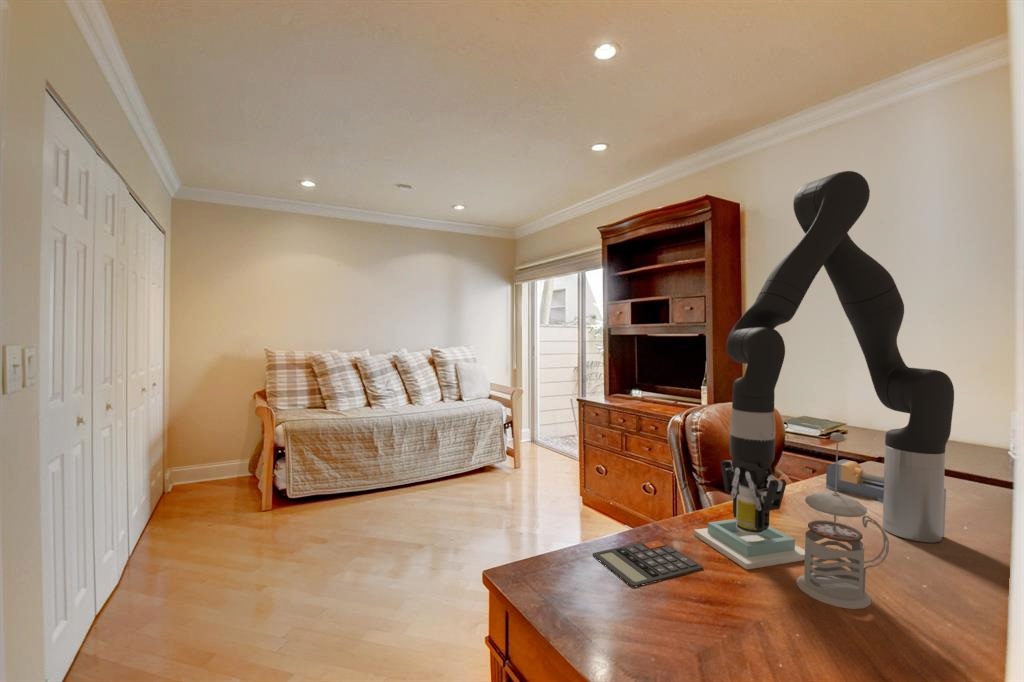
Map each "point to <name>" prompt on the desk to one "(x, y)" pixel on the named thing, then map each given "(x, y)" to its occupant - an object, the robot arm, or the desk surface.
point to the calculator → (647, 562)
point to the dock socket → (751, 545)
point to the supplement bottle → (746, 511)
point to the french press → (837, 551)
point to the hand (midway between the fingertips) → (750, 523)
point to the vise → (854, 480)
